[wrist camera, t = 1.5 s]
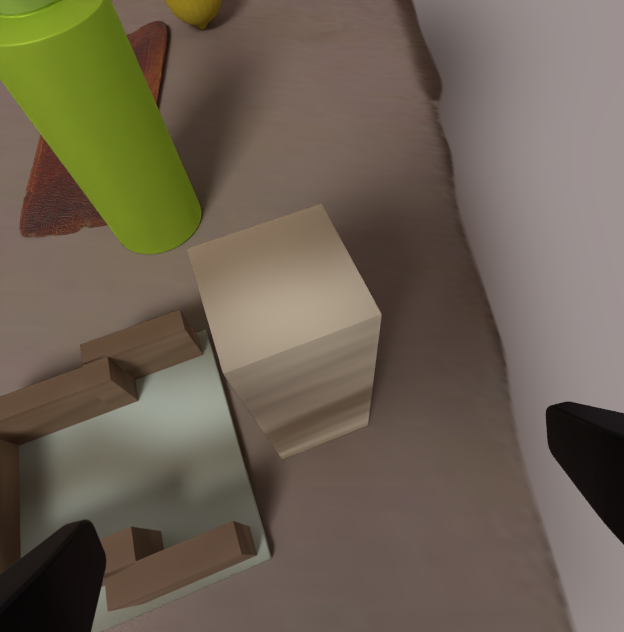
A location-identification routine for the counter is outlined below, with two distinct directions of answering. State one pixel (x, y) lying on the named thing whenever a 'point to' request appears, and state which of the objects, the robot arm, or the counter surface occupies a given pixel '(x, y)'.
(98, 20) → the soap dispenser
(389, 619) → the counter surface
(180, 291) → the counter surface
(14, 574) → the robot arm
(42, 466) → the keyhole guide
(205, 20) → the lemon
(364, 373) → the birch post
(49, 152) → the wooden tablet
